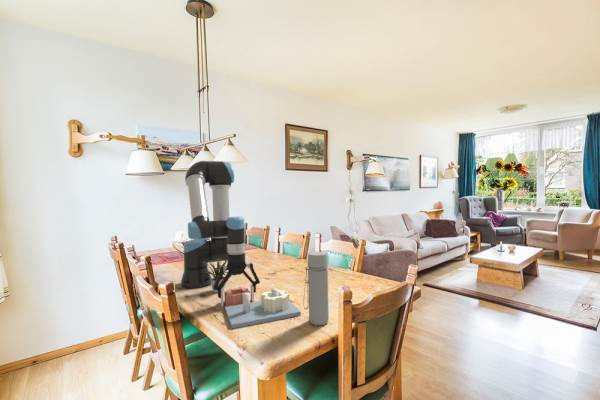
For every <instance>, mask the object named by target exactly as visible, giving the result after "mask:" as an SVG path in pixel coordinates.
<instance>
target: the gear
mask: <svg viewBox="0 0 600 400" xmlns="http://www.w3.org/2000/svg"><path fill="white" fill-rule="evenodd" d="M243 293H250V294H251V290H249V288H248V287H244V286H243V287H242V286H238V287H237V288H232V287H231V288H229V289H225V290H224V291H223V297H224V304H225V307H228V306H234V305H240V304H243Z"/></svg>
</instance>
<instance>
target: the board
mask: <svg viewBox="0 0 600 400" xmlns="http://www.w3.org/2000/svg"><path fill="white" fill-rule="evenodd" d="M260 295H261V297H260V299H261V300H258V301H251V292H250V293H243V304H240V305H234V306H228V307H226V306H224V311H226V312H225V313H226V317H227V320H228V319H229V320H228V323H229V324H230V327H232V328H234V329H238V328H237V327H239V328H244V327H248V325H250V326H254V324H255V325H259V324H260V325H261V324H265V323H269V322H274V321H279V320H284V319H290V318H294V317H300V316H302V314H301V313H302V312H301V310H300V309H299V308H298V307H297V306H295V304H294V303H293V302H292V301H291V300H290V294H289V293H287V292H286V290H282V289H279V288H276V287H273V288H272V289H271V291H269V290H267V291H266V290H265V292H262V293H261V294H260ZM243 326H244V327H243ZM232 328H231V329H232Z"/></svg>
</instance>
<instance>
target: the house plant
mask: <svg viewBox="0 0 600 400" xmlns="http://www.w3.org/2000/svg"><path fill="white" fill-rule="evenodd" d="M210 261H211V260H210ZM222 262H223V264H222V266H226V265H227V260H226V261H223V260H222V261H219V258H218V262H217V263H216V267H215V264H214V263H215V262H210V263H209V266H208V269H209V270H211V271H207V272H206V273H208V274H210V275H212V277H211V284H210V285H211V289H212V293H214V294H218V290H214V288H213V286H214V283H215V281H216V278H217V276H218V274H219V271H220V266H221V263H222ZM204 263H205V262H204ZM227 273H228V270H227V269H225V271H223V275H222V277H221V279H220V282H219V284H218V286H219V285H220V283H221V282H222V280H223V279H224V277H225V276H226V275H227ZM225 286H226V284H225V285H224V286H223V288H222V290H223V292H224V291H225Z"/></svg>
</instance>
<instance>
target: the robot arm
mask: <svg viewBox="0 0 600 400" xmlns="http://www.w3.org/2000/svg"><path fill="white" fill-rule="evenodd" d="M184 177H185V185H186V187H187V189H188V197H189V206H190V207H189V208H190V209H189V210H190V215H191V221H190V222H188V223H187V236H188V239H190V240H188V241H185V242H184V244H183V250H182V252H183V268H184V269H183V273H182V277H181V280H180V287H182V288H183V289H184V288H185V289H198V288H203V287H207V286H209V285H212V284H211V278H212V276H211V274H208V273H206V272H207V271H209V270H210V269H209V264H210V262H211V263H212V262H213V263H216V262H218V258H219V262H221V261H222V260H223V261H222V262H225V261H226V260H227V262H226V265H224V266H222V265H223V264H222V265H221V264H220V265H221V266H220V270H219V274H218V276H217V278H216V281H215V283H214V286H213V288H214V290H218V293H217V297H218V299H220V306H221V307H224V291H223V290H222V288H223V286H224V285H225V286H226V284H227V283H228V281H229V279H230V278H231V277H232V276H236V275H239V276H240V275H242V274H243V276H244V277H245V278H246V279H247V280H248V281H249V282H250V283H251V284H250V285H249V286H250V301H251V302H255V293H257V285H258V284H260V283H261V280H260V279H259V276H258V275H257V273H256V271H255V269H254V264H253V263H252V261H250V262H249V263H247V262H246V253H245V252H246V240H245V239H246V238H245V237H246V235H245V234H246V233H245V230H246V229H245V226H246V223H245V218H244V216H230V197H229V196H230V193H229V192H230V191H229V190H230V188H231V187H232V184H233V183H234V182H235V172H234V167H233V165H232V163H231V162H228V161H223V160H222V161H218V160H216V161H210V160H201V161H200V160H199V161H196V162H195V163H193V164H192V165H191V166H190V167H189V168H188V169H187V170H186V174H185V176H184ZM206 184H208V186H209V188H210V189H211V192H212V193H211V195H212V217H213V219H212V220H210V216H209V215H210V213H209V209H208V203H207V201H208V200H207V197H206V196H207V195H206V189H205V185H206ZM208 239H209V240H208ZM210 260H211V261H210ZM204 262H205V263H204ZM247 268H248V269H249V270H250V272H251V274H252V277H253V278H254V280H253V278H252V277H251V276H250V275H249V274H248V273H247V271H245V270H246V269H247ZM225 269H227V270H226V271H227V272H228V273H226V276H225V275H223V271H225ZM226 271H225V272H226ZM209 272H210V271H209ZM222 275H223V277H224V279H223V280H222V282H221V283H220V285H219V286H218V284H219V282H220V279H221V277H222Z"/></svg>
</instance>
